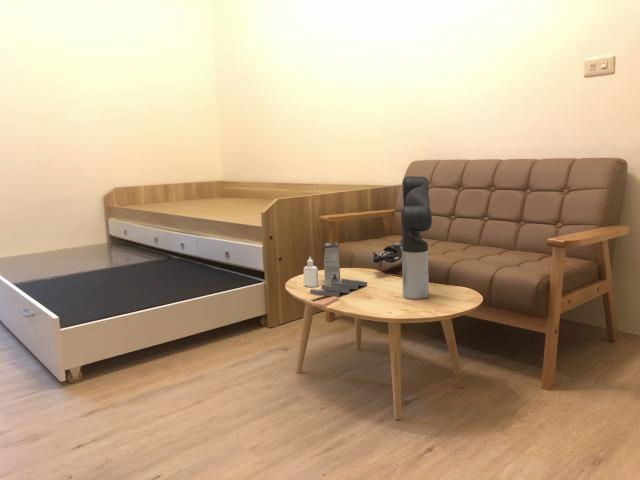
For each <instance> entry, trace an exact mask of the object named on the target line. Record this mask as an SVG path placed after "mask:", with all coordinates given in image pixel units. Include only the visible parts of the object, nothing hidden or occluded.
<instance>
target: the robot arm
mask: <svg viewBox="0 0 640 480" xmlns="http://www.w3.org/2000/svg"><path fill="white" fill-rule="evenodd" d="M429 183H430V182H429V180H428V178H427V177H425V176H417V175H416V176H410V175H409V176H405V177H403V180H402V201H403V202H402V203H403V205H402V206H403V207H402V209H401V212H400V224H401V240H400V241H399V242H394V243H392V244H389V245H388V246H385V247H384V249H383V250H382V251H381V252H379V253H378V252H375V251H373V252H372V259H373V263H374V264H379V263H384V262H385V263H396V262H398V261H400V260H401V259H402V260H401V261H402V296H403V297H404V298H406V299H411V300H422V299H428V298H430V294H429V292H430V291H429V288H430V287H429V285H430V284H429V283H430V282H429V277H430V276H429V246H428V245H429V244H428V242H427V241H426V240H423V238H422V235H421V234H422V233H424V232H427V231H429V230H430V229H431V227H432V224H433V223H432V222H433V216H432V215H433V214H432V211H431V207H430V206H431V205H430V196H429V195H430V194H429V190H430V184H429ZM421 232H422V233H421Z"/></svg>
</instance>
